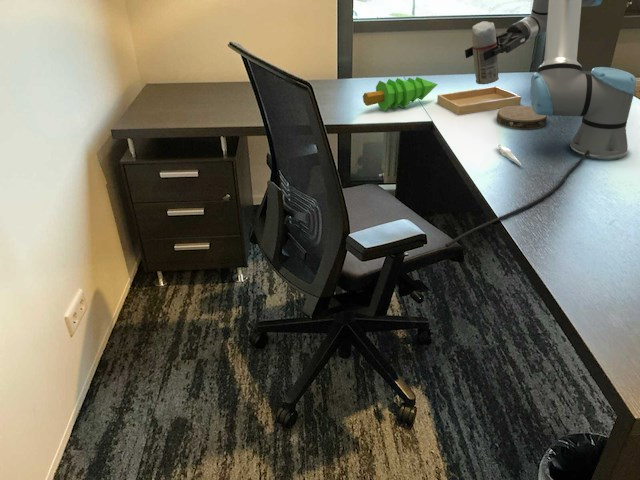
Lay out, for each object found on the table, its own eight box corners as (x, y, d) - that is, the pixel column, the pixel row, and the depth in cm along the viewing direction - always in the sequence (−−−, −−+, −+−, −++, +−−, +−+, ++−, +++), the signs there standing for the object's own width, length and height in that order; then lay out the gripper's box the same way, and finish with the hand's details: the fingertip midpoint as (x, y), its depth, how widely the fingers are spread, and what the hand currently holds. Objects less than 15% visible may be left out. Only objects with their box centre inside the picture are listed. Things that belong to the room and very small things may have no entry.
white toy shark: (494, 149, 168) (495, 143, 167) (502, 148, 168) (503, 142, 167) (516, 169, 155) (517, 162, 154) (525, 168, 155) (526, 161, 154)
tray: (495, 94, 216) (496, 86, 214) (520, 104, 203) (521, 96, 202) (437, 103, 210) (437, 95, 208) (458, 115, 197) (459, 106, 195)
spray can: (501, 74, 199) (495, 17, 189) (499, 83, 193) (493, 25, 183) (477, 78, 203) (470, 22, 192) (474, 86, 197) (467, 29, 186)
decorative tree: (361, 77, 200) (434, 63, 208) (358, 102, 209) (427, 88, 217) (374, 96, 194) (449, 81, 202) (370, 121, 203) (441, 106, 211)
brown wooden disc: (506, 111, 198) (507, 103, 196) (551, 118, 189) (553, 109, 188) (489, 124, 187) (490, 116, 185) (537, 132, 178) (538, 123, 177)
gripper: (546, 44, 192) (499, 69, 184) (500, 40, 208) (455, 62, 201) (545, 22, 188) (497, 46, 180) (498, 20, 204) (452, 42, 197)
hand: (475, 55), depth 191 cm, fingers closed on spray can, 8 cm apart
